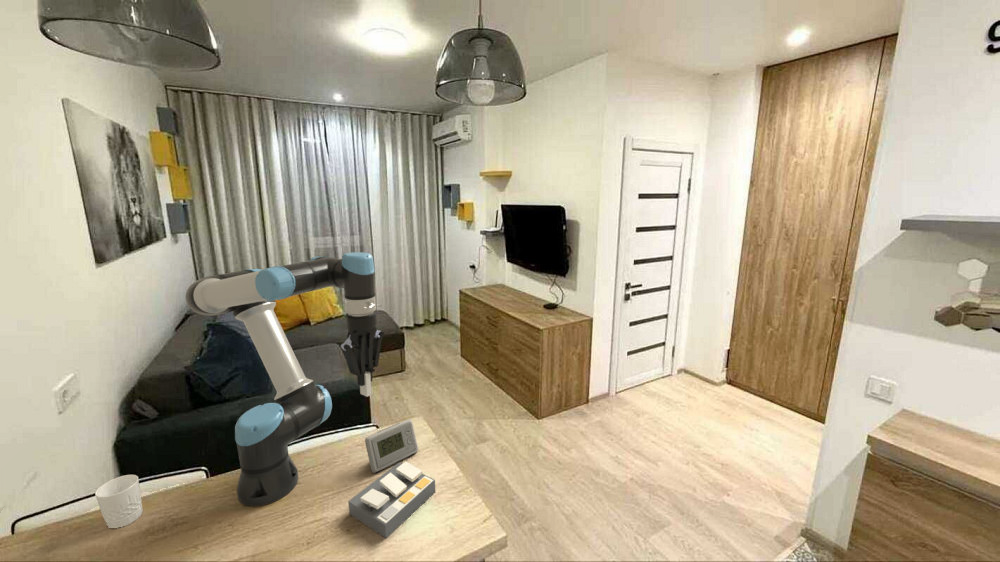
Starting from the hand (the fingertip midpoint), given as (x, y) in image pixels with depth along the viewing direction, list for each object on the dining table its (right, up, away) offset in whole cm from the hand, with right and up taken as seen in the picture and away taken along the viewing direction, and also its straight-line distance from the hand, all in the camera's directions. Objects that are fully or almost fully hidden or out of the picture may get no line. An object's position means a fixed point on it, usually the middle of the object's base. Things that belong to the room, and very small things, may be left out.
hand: (365, 394), depth 106 cm
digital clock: (+3, -26, +17) cm, 31 cm away
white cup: (-61, -31, -6) cm, 68 cm away
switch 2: (+8, -25, -1) cm, 26 cm away
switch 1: (+5, -26, -6) cm, 27 cm away
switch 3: (+11, -23, +4) cm, 26 cm away
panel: (+8, -30, 0) cm, 31 cm away
